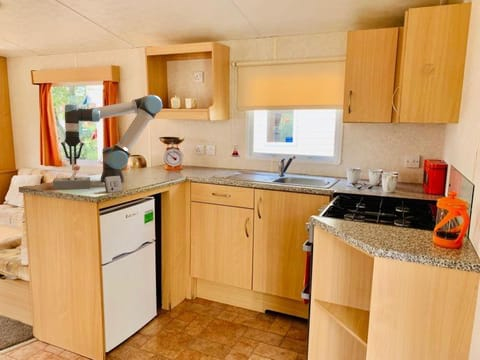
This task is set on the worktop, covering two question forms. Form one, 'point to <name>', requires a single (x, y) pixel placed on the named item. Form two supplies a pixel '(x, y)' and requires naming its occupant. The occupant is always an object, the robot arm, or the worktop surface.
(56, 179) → the box
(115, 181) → the electrical switch
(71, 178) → the breaker lever
